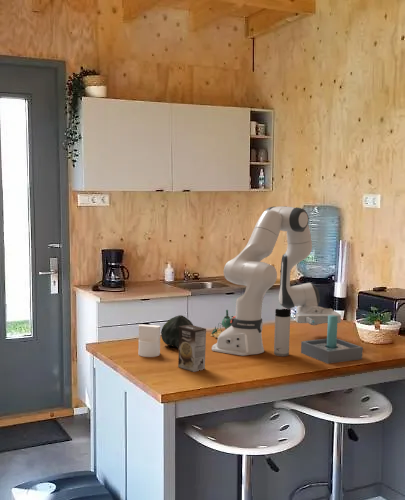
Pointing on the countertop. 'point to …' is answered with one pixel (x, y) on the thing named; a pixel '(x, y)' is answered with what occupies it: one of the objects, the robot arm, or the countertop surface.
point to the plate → (324, 346)
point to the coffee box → (192, 347)
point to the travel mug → (282, 332)
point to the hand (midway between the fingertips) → (323, 321)
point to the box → (331, 351)
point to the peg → (332, 331)
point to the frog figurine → (225, 324)
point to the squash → (173, 330)
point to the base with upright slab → (149, 340)
